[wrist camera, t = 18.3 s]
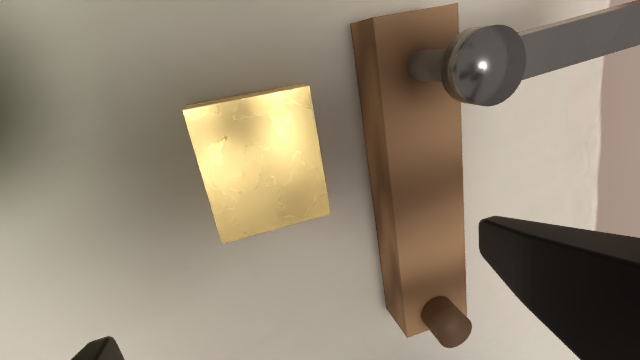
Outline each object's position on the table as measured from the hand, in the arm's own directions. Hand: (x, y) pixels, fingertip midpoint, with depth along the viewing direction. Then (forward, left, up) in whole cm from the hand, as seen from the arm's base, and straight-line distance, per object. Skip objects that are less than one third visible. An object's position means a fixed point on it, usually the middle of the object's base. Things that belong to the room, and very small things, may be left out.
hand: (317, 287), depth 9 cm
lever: (+4, -13, -6) cm, 15 cm away
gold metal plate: (0, 0, -13) cm, 13 cm away
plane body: (-4, -9, -12) cm, 16 cm away
